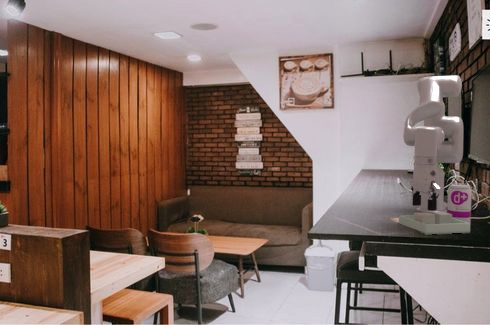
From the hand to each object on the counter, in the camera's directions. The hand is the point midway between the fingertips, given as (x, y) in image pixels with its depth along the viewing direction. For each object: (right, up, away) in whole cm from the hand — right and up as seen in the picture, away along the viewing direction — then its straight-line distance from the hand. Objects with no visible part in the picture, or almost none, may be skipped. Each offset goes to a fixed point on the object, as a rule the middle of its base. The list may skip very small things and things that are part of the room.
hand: (424, 207), depth 166 cm
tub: (+3, -8, 0) cm, 8 cm away
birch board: (-1, -7, +14) cm, 16 cm away
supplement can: (+17, -7, +9) cm, 21 cm away
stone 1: (0, -7, -1) cm, 7 cm away
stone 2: (+6, -7, 0) cm, 10 cm away
